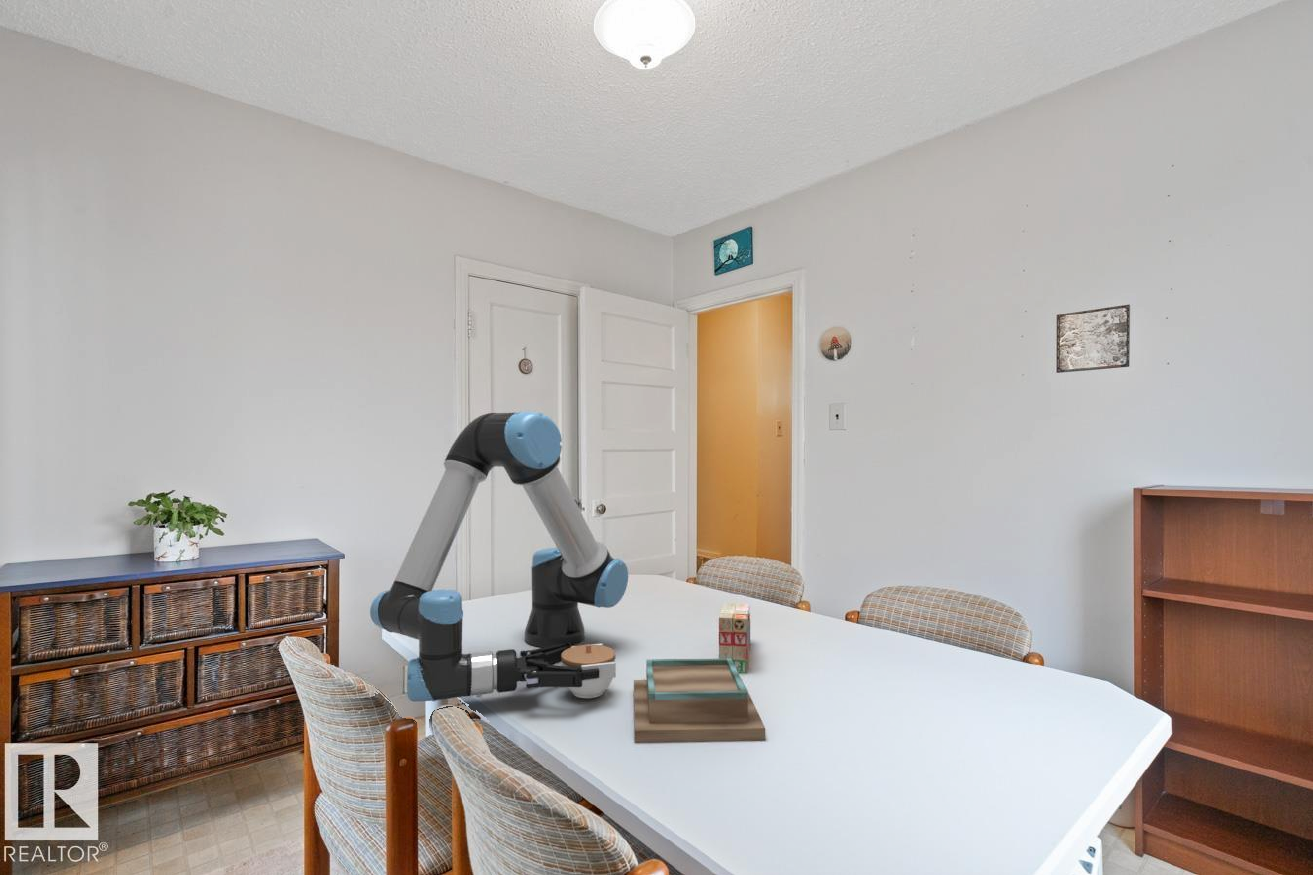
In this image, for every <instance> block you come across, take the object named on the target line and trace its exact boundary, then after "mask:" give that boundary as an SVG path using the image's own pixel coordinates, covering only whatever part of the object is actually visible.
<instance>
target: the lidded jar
mask: <svg viewBox="0 0 1313 875" xmlns="http://www.w3.org/2000/svg"><path fill="white" fill-rule="evenodd" d="M574 646H575V647H571V646H570V648H568V649H566V650H565V651H564V652H563V653H562V654H561V660H562V662H561V666H566V667H576V668H581V665H590V664H599V663H609V662H615V663H616V652H615V650H614V649H613V648H611V647H609V646H605V645H603V646H602V645H591V644H588V643H587V644H580V645H574ZM613 679H614V678H605V679H597V680H588V681H582V687H567V689H568V690H569V691H571V693H572V694H573V696H575V697H576V698H580V699H585V700H586V699H595V698H598V697H600V696H602V695H603V694H604V692H605V691H606V690H607V689H608V688H609V687H610V685H611V683H612V681H613Z"/></svg>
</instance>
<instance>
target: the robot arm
mask: <svg viewBox="0 0 1313 875" xmlns="http://www.w3.org/2000/svg"><path fill="white" fill-rule="evenodd" d="M562 440H563V438H562V434H561V432H560V429H559V427H558V425H557V424H556V422H555V421H554V420H553V419H552V418H551V417H549V416H548V415H546V414H544V413H541V412H536V411H529V410H522V411H517V412H488V413H485V414H482V415H479V416H478V417H476V418H474V419H473V420H472V421H470V422H469V423H468V424H467V425H466V426H465V427H464V428H463V429H462V431H461V432H460V433H459V435H458V436H457V437H456V439H455V440H454V442H453V444H452V445H451V447H450V449H449V451H448V454H447V455H446V456H445V459H444V461H443V466H444V468H445V471H444V472H443V474H442V477H441V479H440V481H439V483H438V485H437V488H436V490H435V492H434V494H433V497H432V499H431V500H430V503H429V506H428V507H427V509H426V511H425V513H424V516H423V518H422V521H421V522H420V524H419V527H418V529H417V531H416V533H415V535H414V537H413V540H412V541H411V544H410V545H409V548H408V550H407V552H406V554H405V556H404V559H403V561H402V563H401V566H400V568H399V570H398V572H397V574H396V576H395V578H394V580H393V583H392V584H391V587H390V589H388V590H385V591H382V592H380V594H378V595H377V596H376V597H375V598H373V601H372V603H371V606H370V607H369V608H370V609H369V614H370V619H371V621H372V623H374V625H375V626H376V627H378V628H380V629H383V630H385V631H387V632H388V633H395V634H398V635H402V636H406V637H408V638H411V639H414V640H418V646H419V647H418V649H419V650H418V653H419V654H418V657H417V658H412V659H410V660H409V661H408V664H407V672H406V674H407V680H406V694H407V698H408V700H409V701H410V702H413V703H414V702H436V701H440V700H449V699H454V698H455V699H456V698H463V697H472V696H476V697H477V698H481V697H482V696H483V695H488V694H493V693H494V690H496V693H497V692H498V694H499V693H507V692H514V691H516V690H517V688H518V687H517V686H518V682H525V684H526V688H527V689H534V688H568V687H582V681H588V680H597V679H605V678H613V679H614V678H616V675H617V674H616V673H617V672H616V670H617V669H616V668H617V666H616V661H615V662H609V663H599V664H590V665H581V668H576V667H566V666H562V665H556V664H559V663H562V660H561V654H562V653H563V652H564V651H565V650H566V649H568V648H571V647H575V646H576V645H575V644H578V643H580V642H581V641H583V640H584V639H585V625H584V623H583V619H582V616H581V614H580V611H579V607H578V606H579V605H578V604H583V605H588V606H592V607H597V608H607V609H608V608H609V609H610V608H613V607H615V606H617V604H619V603H620V601H621V600H622V599H623V597H624V595H625V594H626V590H627V588H628V582H629V569H628V567H627V563H625V562H624V561H623V560H622V559H619V558H613V557H612V556H611V554H610V552H609V550H608V548H607V546H606V545H605V543H602V542H600V541H596V539H595V536H594V535H593V533H592V531H591V529H590V527H589V525H588V523H587V522H586V519H585V517H584V516H583V515H584V514H582V511H581V510H580V508H579V506H578V504H577V501H576V500H575V498H574V496H573V494H572V492H571V491H570V488H569V487H568V485H567V483H566V480H565V479H564V476H563V475H562V473H561V471H560V469H559V465H560V463H561V452H562V449H563V448H562V447H563V445H561V442H562ZM495 467H502V468H503V469H504V470H505V472H506V474H507V476H508V477H509V479H510V480H511V482H512V484H515V485H516V486H522V488H523V489H524V491H525V493H526V495H527V496H528V498H529V500H530V502H531V504H532V505H533V507H534V508H535V510H536V513H537V514H538V516H539V518H540V519H541V521H542V524H543V525H544V526H545V529H546V530H547V532H548V534H549V536H550V538H551V539H552V541H553V543H554V545H555V546H556V547H549V548H545V549H541V550H540V549H539V550H537V551H535V552H534V554H532V559H531V561H532V563H531V566H530V567H531V569H530V570H531V610H530V614H529V617H528V620H527V623H526V626H525V630H524V641H525V643H527V644H528V645H530V646H534V647H539V648H535V649H528V650H521V651H520V652H519V653H520V654H519V656H520V657H518V656H517V652H516V650H515V649H512V648H511V649H503V650H497V651H496V652H495V653H494V652H493V651H491V650H490V651H480V652H472V653H463V618H464V609H463V602H462V601H463V600H462V599H463V598H462V595H461V593H460V592H459V591H457V590H453V589H436V590H433V589H434V586H435V584H436V583H437V580H438V577H439V576H440V573H441V571H442V568H443V566H444V563H445V561H446V560H447V557H448V555H449V553H450V551H451V548H452V546H453V543H454V541H455V539H456V537H457V535H458V533H459V530H460V528H461V525H462V523H463V520H464V518H465V516H466V514H467V511H468V509H469V507H470V505H471V502H472V500H473V498H474V496H475V493H476V491H477V489H478V487H479V484H480V483H482V482H485V481H487V480H486V479H487V478H488V476H489V473H490V471H492V469H494V468H495ZM591 645H602V646H604V644H603V643H593V644H591Z"/></svg>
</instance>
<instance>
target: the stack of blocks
mask: <svg viewBox="0 0 1313 875" xmlns="http://www.w3.org/2000/svg"><path fill="white" fill-rule="evenodd" d="M749 605H750V603H739V602H738V603H737V602H736V603H735V602H734V603H732V602H731V603H730V602H723V603H722V607H721V610H720V613H719V615H718V659H722V658H731V659H732V661H733V663H734V665H735V667H736V669H737V671H738V673H739V674H743V675H745V674H747V673H748V669H749V662H750V661H749V660H750V651H751V650H750V649H751V606H749Z"/></svg>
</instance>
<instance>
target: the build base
mask: <svg viewBox="0 0 1313 875" xmlns="http://www.w3.org/2000/svg"><path fill="white" fill-rule="evenodd" d="M645 665H646V670H645V672H646V676H645V677H646V679H634V680H633V716H634V717H633V719H634V720H633V722H634V723H633V724H634V725H633V726H634V727H633V728H634V729H633V730H634V743H635V744H636V743H639V744H641V743H643V744H644V743H676V742H678V743H684V742H685V743H690V742H692V743H693V742H696V743H697V742H736V741H737V742H740V741H743V742H744V741H766V727H765V725H764V722H763V721H762V718H761V717H760V715H759V711H758V710H757V708H756V705H755V704H754V702H753V699H752V697H751V695H750V694H749V691H748V690H747V687H746V685H745V683H744V681H743V678H742V677H741V675H740V673H738V671H737V669H736V667H735V665H734V663H733V661H732V659H731V658H722V659H719V658H666V659H665V658H663V659H662V658H659V659H658V658H656V659H646V663H645Z"/></svg>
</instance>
